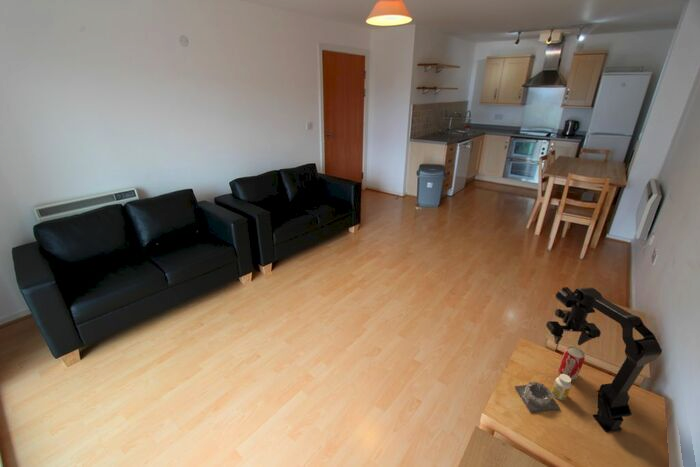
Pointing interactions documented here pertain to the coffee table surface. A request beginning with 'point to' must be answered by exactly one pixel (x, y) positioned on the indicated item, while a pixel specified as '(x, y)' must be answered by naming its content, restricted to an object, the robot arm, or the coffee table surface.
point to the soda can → (571, 362)
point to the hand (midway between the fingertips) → (567, 344)
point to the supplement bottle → (561, 386)
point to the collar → (537, 397)
